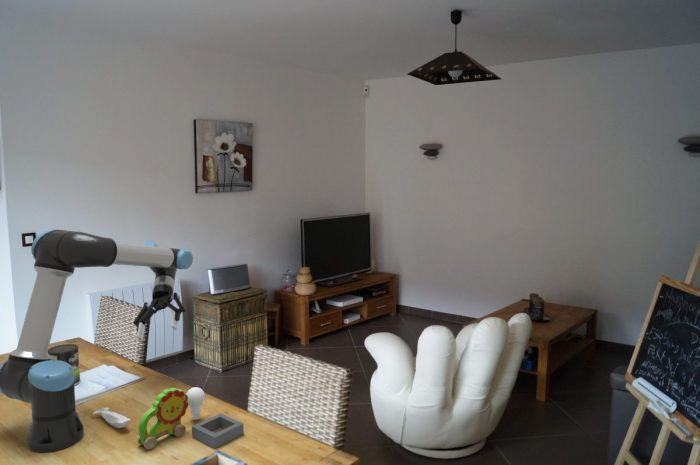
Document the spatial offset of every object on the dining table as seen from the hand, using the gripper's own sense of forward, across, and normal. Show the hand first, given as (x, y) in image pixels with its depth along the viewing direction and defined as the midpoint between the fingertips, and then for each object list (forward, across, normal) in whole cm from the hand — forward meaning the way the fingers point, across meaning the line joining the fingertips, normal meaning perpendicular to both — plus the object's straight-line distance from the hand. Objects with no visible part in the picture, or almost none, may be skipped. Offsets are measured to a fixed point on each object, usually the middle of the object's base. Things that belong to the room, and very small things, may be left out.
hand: (156, 333), depth 195 cm
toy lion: (+42, -8, -1) cm, 43 cm away
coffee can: (+1, +44, -10) cm, 45 cm away
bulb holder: (+43, -23, -7) cm, 49 cm away
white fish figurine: (+31, +12, -1) cm, 34 cm away
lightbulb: (+33, -13, -10) cm, 37 cm away
